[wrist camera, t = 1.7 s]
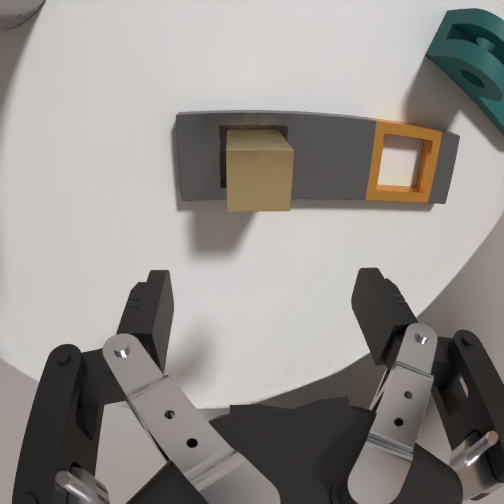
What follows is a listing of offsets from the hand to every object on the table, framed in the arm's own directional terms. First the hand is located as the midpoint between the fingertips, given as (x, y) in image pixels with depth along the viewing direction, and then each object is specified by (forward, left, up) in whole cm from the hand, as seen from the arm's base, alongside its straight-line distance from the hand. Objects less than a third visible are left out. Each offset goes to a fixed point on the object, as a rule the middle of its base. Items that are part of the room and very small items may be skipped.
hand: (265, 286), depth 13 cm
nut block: (-1, +1, -18) cm, 18 cm away
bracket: (-12, +27, -19) cm, 35 cm away
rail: (-1, +8, -18) cm, 20 cm away
